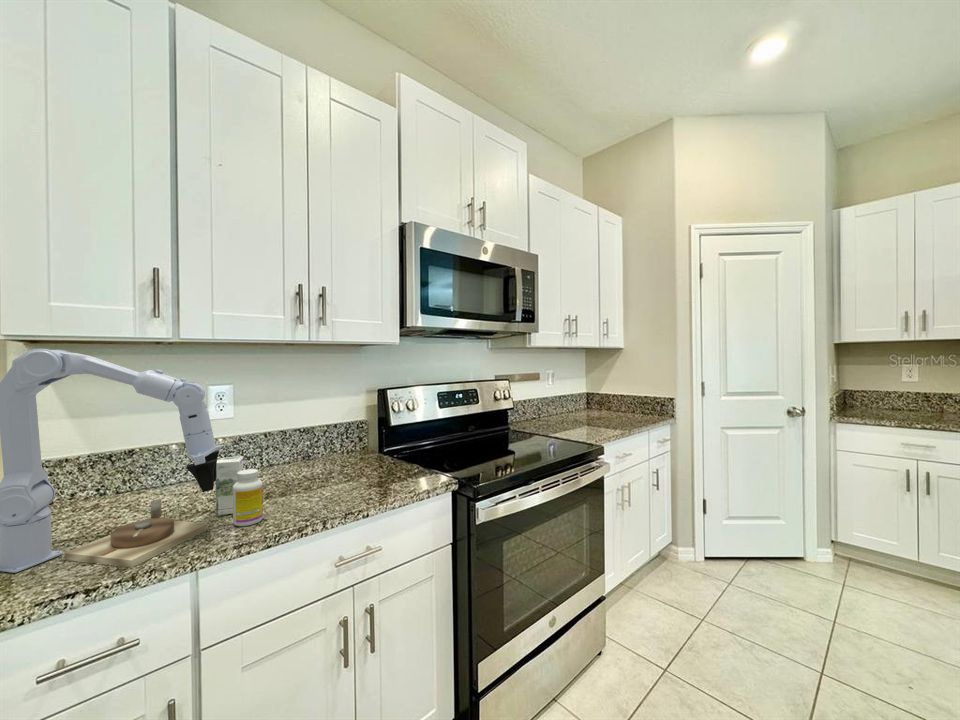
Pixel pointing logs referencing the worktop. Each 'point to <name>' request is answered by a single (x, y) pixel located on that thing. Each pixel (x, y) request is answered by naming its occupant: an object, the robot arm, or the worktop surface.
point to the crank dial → (143, 529)
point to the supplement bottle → (247, 498)
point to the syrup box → (226, 483)
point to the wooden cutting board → (135, 555)
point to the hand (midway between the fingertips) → (209, 486)
